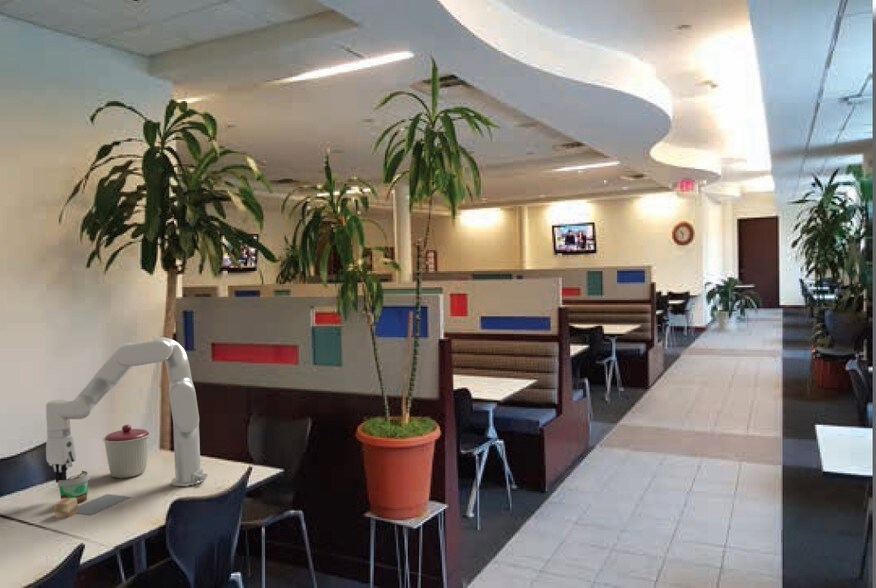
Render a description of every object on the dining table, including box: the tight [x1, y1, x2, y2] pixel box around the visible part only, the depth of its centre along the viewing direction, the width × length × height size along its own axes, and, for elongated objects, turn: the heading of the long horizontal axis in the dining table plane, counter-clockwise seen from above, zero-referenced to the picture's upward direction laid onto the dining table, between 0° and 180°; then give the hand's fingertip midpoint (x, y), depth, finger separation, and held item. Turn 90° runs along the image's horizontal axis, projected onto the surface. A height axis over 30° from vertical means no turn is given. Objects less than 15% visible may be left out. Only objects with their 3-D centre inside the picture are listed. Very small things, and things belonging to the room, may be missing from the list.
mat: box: [76, 493, 133, 516], centre depth 231 cm, size 12×18×1 cm, turn 161°
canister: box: [102, 424, 152, 479], centre depth 265 cm, size 18×18×21 cm
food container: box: [57, 470, 91, 505], centre depth 234 cm, size 12×6×10 cm, turn 168°
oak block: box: [53, 498, 79, 519], centre depth 221 cm, size 5×5×5 cm
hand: (61, 481), depth 237 cm, fingers closed
